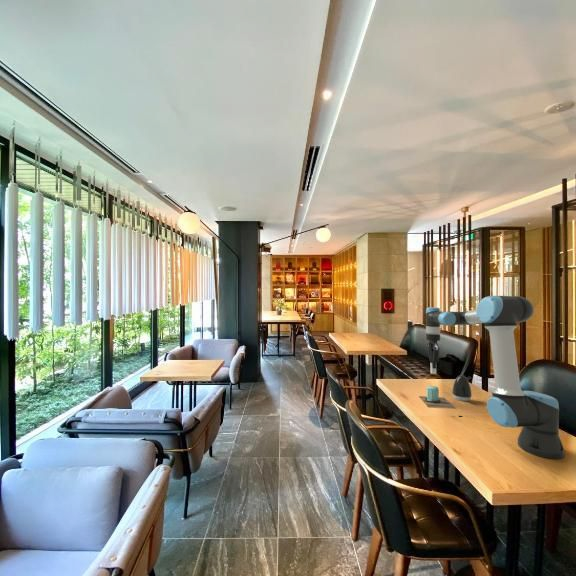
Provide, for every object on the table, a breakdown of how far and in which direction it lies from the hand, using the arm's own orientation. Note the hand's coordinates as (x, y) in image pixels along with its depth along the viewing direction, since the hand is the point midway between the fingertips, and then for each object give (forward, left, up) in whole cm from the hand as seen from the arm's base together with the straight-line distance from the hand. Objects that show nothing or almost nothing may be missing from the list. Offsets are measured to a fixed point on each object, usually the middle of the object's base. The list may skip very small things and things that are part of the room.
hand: (433, 373), depth 180 cm
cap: (+1, 0, -15) cm, 15 cm away
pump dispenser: (+7, -19, -18) cm, 27 cm away
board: (-1, -1, -17) cm, 17 cm away
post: (+1, 0, -16) cm, 16 cm away
